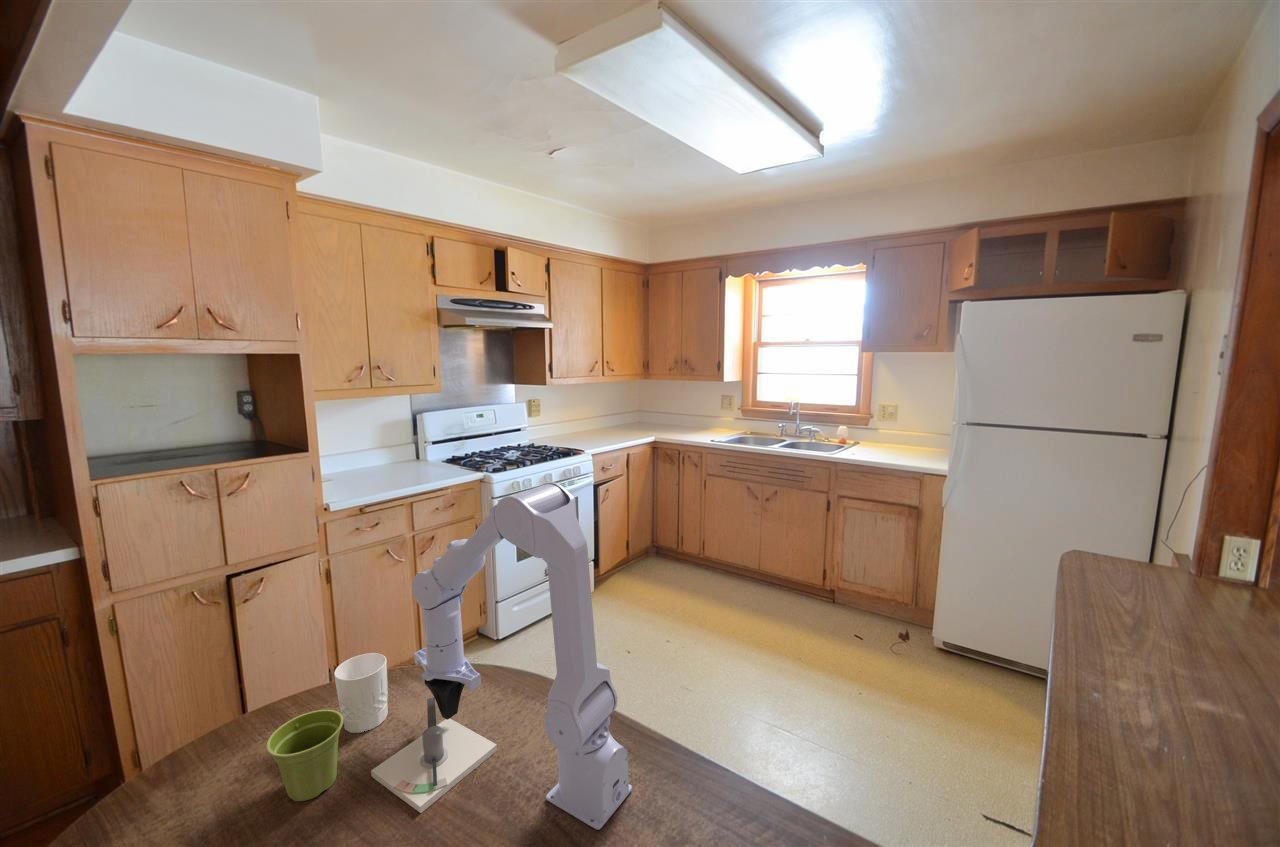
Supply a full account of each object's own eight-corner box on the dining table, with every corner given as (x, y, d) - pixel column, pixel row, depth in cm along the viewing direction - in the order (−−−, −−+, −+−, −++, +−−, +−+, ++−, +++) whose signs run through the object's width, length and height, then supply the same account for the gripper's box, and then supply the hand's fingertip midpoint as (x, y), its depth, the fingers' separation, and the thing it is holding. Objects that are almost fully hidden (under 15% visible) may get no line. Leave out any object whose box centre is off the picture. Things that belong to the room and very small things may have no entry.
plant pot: (261, 820, 71) (254, 762, 70) (287, 768, 80) (281, 716, 79) (338, 803, 74) (332, 746, 73) (355, 754, 83) (350, 703, 82)
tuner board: (497, 750, 83) (497, 743, 83) (421, 814, 72) (420, 806, 71) (448, 722, 89) (448, 716, 89) (371, 776, 78) (370, 769, 78)
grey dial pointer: (446, 784, 75) (443, 759, 74) (424, 791, 74) (422, 765, 73) (441, 715, 89) (439, 693, 89) (423, 720, 88) (421, 698, 88)
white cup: (329, 727, 89) (323, 672, 88) (372, 700, 96) (367, 648, 95) (359, 742, 85) (353, 685, 84) (401, 712, 92) (396, 659, 91)
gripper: (394, 637, 86) (401, 713, 88) (451, 663, 78) (458, 746, 80) (432, 618, 92) (438, 690, 94) (488, 641, 84) (494, 719, 86)
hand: (449, 714), depth 87 cm, fingers closed
